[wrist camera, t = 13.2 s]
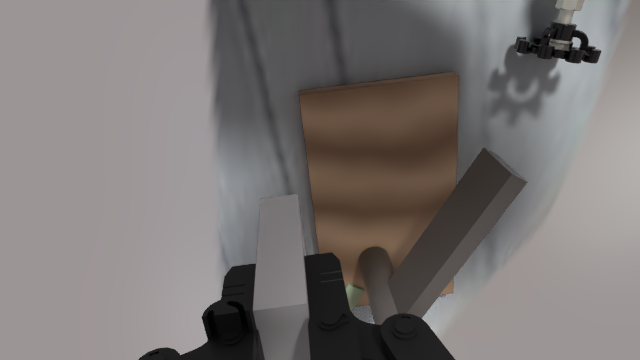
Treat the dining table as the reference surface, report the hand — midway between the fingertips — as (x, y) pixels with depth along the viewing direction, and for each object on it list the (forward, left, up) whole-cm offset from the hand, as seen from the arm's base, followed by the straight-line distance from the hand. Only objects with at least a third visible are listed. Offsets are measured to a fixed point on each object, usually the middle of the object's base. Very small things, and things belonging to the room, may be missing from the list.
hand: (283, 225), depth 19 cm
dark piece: (+15, +10, -23) cm, 29 cm away
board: (+13, +9, -24) cm, 29 cm away
